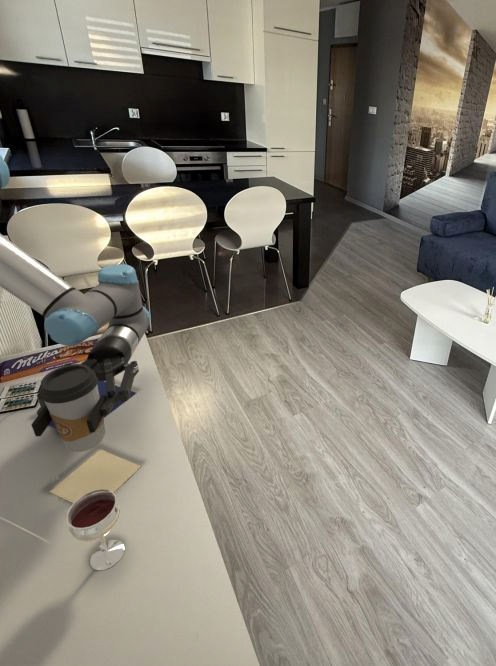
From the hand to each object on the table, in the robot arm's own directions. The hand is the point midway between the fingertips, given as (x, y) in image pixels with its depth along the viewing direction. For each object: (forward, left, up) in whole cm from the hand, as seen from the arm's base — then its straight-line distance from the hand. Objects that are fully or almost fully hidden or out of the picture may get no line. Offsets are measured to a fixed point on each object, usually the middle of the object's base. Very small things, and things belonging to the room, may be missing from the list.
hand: (63, 428), depth 67 cm
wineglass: (+12, -6, -18) cm, 23 cm away
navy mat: (-21, +18, -18) cm, 33 cm away
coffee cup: (-2, +4, -8) cm, 9 cm away
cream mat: (-2, +4, -18) cm, 19 cm away
